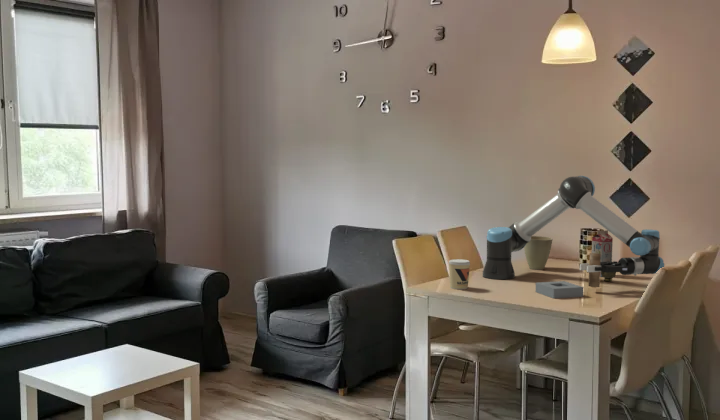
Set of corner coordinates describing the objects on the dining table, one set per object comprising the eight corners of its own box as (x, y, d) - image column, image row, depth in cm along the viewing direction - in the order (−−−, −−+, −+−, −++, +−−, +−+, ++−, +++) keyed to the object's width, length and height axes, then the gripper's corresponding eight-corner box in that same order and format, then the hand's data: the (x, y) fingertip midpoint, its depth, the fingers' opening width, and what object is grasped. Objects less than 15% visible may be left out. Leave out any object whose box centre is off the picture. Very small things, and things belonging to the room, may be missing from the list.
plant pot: (517, 268, 358) (518, 238, 357) (528, 265, 371) (529, 235, 369) (545, 271, 350) (546, 240, 349) (555, 268, 362) (556, 237, 361)
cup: (617, 283, 320) (618, 266, 320) (600, 282, 322) (601, 265, 321) (615, 280, 328) (615, 263, 327) (598, 279, 329) (599, 262, 329)
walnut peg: (586, 285, 301) (587, 253, 299) (595, 284, 302) (596, 252, 301) (592, 287, 296) (593, 254, 295) (601, 286, 298) (602, 254, 296)
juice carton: (611, 275, 340) (612, 231, 338) (601, 276, 337) (602, 231, 335) (601, 273, 346) (602, 229, 344) (591, 274, 343) (592, 230, 341)
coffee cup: (456, 290, 301) (456, 263, 300) (444, 286, 309) (444, 259, 308) (473, 288, 305) (474, 261, 304) (461, 285, 314) (461, 258, 313)
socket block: (535, 291, 299) (535, 282, 299) (563, 290, 303) (564, 281, 303) (553, 298, 286) (553, 288, 286) (583, 296, 290) (583, 287, 290)
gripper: (643, 278, 296) (595, 280, 289) (617, 271, 312) (571, 273, 306) (644, 260, 295) (596, 262, 288) (617, 254, 312) (572, 256, 305)
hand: (583, 268), depth 297 cm, fingers closed on walnut peg, 4 cm apart
